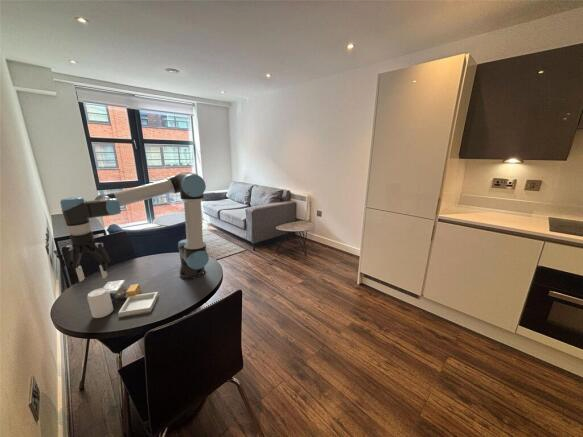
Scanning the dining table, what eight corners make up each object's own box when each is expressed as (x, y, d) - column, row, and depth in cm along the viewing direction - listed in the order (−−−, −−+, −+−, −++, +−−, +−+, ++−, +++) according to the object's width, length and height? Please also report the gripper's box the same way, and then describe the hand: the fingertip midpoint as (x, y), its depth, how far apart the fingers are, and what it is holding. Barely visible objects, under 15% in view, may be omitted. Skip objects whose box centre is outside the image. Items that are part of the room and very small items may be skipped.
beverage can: (117, 307, 117) (112, 287, 114) (105, 318, 110) (99, 297, 106) (101, 308, 117) (95, 287, 114) (88, 319, 109) (81, 297, 106)
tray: (158, 296, 126) (157, 291, 126) (151, 312, 114) (150, 307, 113) (130, 300, 123) (129, 296, 122) (119, 317, 111) (118, 312, 110)
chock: (141, 291, 131) (139, 283, 130) (136, 298, 125) (134, 290, 123) (133, 292, 130) (131, 284, 129) (128, 300, 124) (126, 291, 122)
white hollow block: (131, 292, 130) (127, 279, 127) (123, 303, 120) (120, 289, 118) (111, 295, 127) (107, 282, 125) (102, 306, 118) (98, 292, 116)
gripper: (112, 227, 108) (123, 271, 114) (57, 232, 102) (71, 277, 109) (104, 233, 101) (116, 279, 107) (44, 238, 95) (60, 286, 102)
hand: (93, 278), depth 108 cm, fingers open, 8 cm apart
